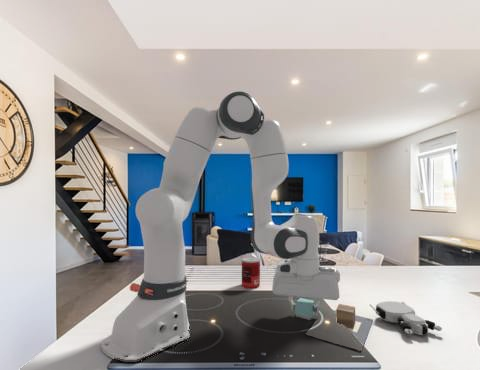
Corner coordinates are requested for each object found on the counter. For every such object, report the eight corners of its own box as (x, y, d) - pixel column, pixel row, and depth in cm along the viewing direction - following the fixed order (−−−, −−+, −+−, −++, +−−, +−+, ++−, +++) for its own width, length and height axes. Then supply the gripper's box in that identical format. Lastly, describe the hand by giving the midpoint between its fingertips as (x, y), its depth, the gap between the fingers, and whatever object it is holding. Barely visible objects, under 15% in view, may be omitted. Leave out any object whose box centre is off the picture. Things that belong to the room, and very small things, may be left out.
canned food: (260, 283, 114) (260, 257, 115) (259, 289, 106) (259, 261, 107) (242, 282, 115) (242, 256, 116) (240, 288, 107) (241, 261, 108)
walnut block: (353, 329, 73) (353, 312, 74) (336, 325, 76) (336, 309, 76) (355, 322, 77) (355, 306, 78) (339, 319, 80) (339, 303, 80)
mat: (361, 352, 63) (361, 350, 63) (304, 334, 71) (304, 333, 71) (373, 320, 80) (373, 319, 80) (326, 309, 87) (326, 308, 87)
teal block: (309, 321, 79) (309, 305, 79) (295, 317, 82) (295, 302, 82) (314, 315, 83) (314, 300, 83) (300, 312, 85) (300, 297, 86)
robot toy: (445, 340, 71) (400, 312, 86) (446, 323, 71) (401, 298, 86) (406, 344, 68) (367, 315, 83) (407, 327, 68) (368, 301, 83)
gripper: (338, 265, 84) (339, 310, 83) (273, 261, 88) (273, 303, 88) (341, 271, 77) (341, 319, 77) (271, 266, 82) (271, 311, 82)
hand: (304, 310), depth 82 cm, fingers closed on teal block, 5 cm apart
